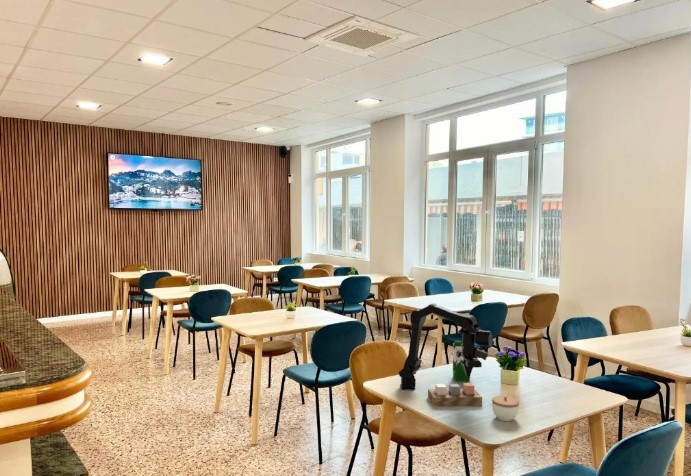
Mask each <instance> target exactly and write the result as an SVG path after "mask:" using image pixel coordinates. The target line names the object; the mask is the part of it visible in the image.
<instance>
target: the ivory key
mask: <svg viewBox="0 0 691 476" xmlns="http://www.w3.org/2000/svg"><path fill="white" fill-rule="evenodd" d="M434 386H435V388H434V389H435V393H436V394H437V395H446V389H447V385H446V384H444V383H435V384H434Z"/></svg>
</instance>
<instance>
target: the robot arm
mask: <svg viewBox="0 0 691 476" xmlns="http://www.w3.org/2000/svg"><path fill="white" fill-rule="evenodd" d="M431 314H434V315H437V316H439V317H440V318H441V317H442V318H444V319H447V320H450V321H451V322H453V323H455V324H456V325H457V326H458V327H460V329H458V331H457V333H458V334H461V336H462V337H461V339H462V340H461V341H462V344H461V347H462V350H461V351H457V352H456V356H457V357H458V358H459V357H460V356H461V357H462V360H460V362H461V364H462V366H463V369H464V371H465V374H466V376H467V377H468V378H469V377H470V378H471V374H472V372H473V369H474V368H482V361H480V360H479V359H481V360H484V361H486V360H487V358H488V355H489V353H487V351H485V350H483V348H482V347H481V346H483V347H488V348H489V347H490V348H491V347H492V346H493V341H494V340H493V339H494V338H493V334H492V331H491V330H482V327H481V326H480V325H479V323H478V321H477V318H476V317H475V316H474V315H471V314H468V313H467V314H466V313H458V312H457V311H454V310H451V309H448V308H446V307H444V306H441V305H438V304H437V303H430V304H428V305H427V306H425V307H423V308H418V309H415V310H412V311H411V312H410V316H409V317H410V324H411V334H410V339H409V340H410V342H409V346H408V347H409V348H408V355H407V357H406V359H405V361H404V364H403V366H402V367H403V368H402V369H400V371H398V376H399V377H400V385H399V386H400V389H401V390H403V391H404V390H407V391H408V390H410V391H411V390H413V391H414V390H416V384H417V383H416V377H415V375H416V374H417V372H418V371H419V370H420V368H422V366H421V365H422V364H421V363H422V359H419V350H420V343H421V336H422V331H423V330H422V329H423V326H424V324H425V322H426V320H427V317H428V316H429V315H431ZM476 345H477V346H476ZM478 358H479V359H478Z"/></svg>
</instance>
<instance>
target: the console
mask: <svg viewBox="0 0 691 476" xmlns="http://www.w3.org/2000/svg"><path fill="white" fill-rule="evenodd" d="M427 398H428V400H429V401H430V403H431V404H432V406H433V407H436V408H437V407H438V408H439V407H440V408H441V407H482V406H483V396H482V395H481V394H480V393H479V392H478V391H477V390H476V389H475V388H474V394H473V395H466V394H465V393H464V392H463V388H460V395H451V394H450V393H449V388H446V395H437V394H436V393H435V388H429V389H427Z"/></svg>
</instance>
